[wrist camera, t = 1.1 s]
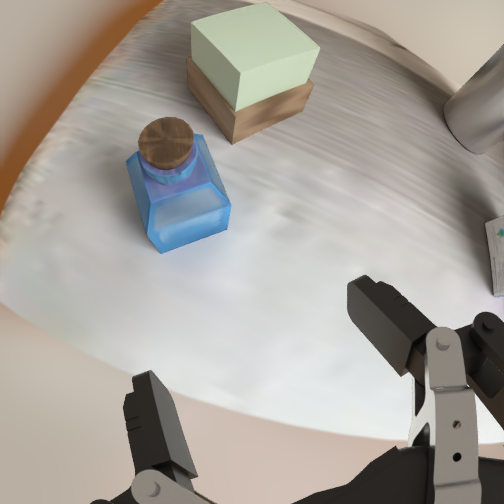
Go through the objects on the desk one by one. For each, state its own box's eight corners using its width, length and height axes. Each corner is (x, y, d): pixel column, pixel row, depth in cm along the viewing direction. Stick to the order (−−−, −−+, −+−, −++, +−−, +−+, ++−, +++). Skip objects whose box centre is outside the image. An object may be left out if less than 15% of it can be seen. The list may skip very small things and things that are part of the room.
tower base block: (255, 62, 33) (261, 32, 28) (301, 112, 32) (314, 84, 27) (188, 89, 31) (186, 58, 26) (231, 146, 30) (235, 117, 25)
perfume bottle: (141, 192, 28) (104, 118, 16) (203, 170, 29) (201, 86, 17) (161, 253, 27) (126, 207, 15) (227, 229, 28) (237, 167, 16)
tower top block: (259, 36, 28) (266, 2, 23) (305, 83, 27) (320, 48, 22) (191, 59, 26) (190, 22, 21) (235, 111, 25) (240, 73, 21)
